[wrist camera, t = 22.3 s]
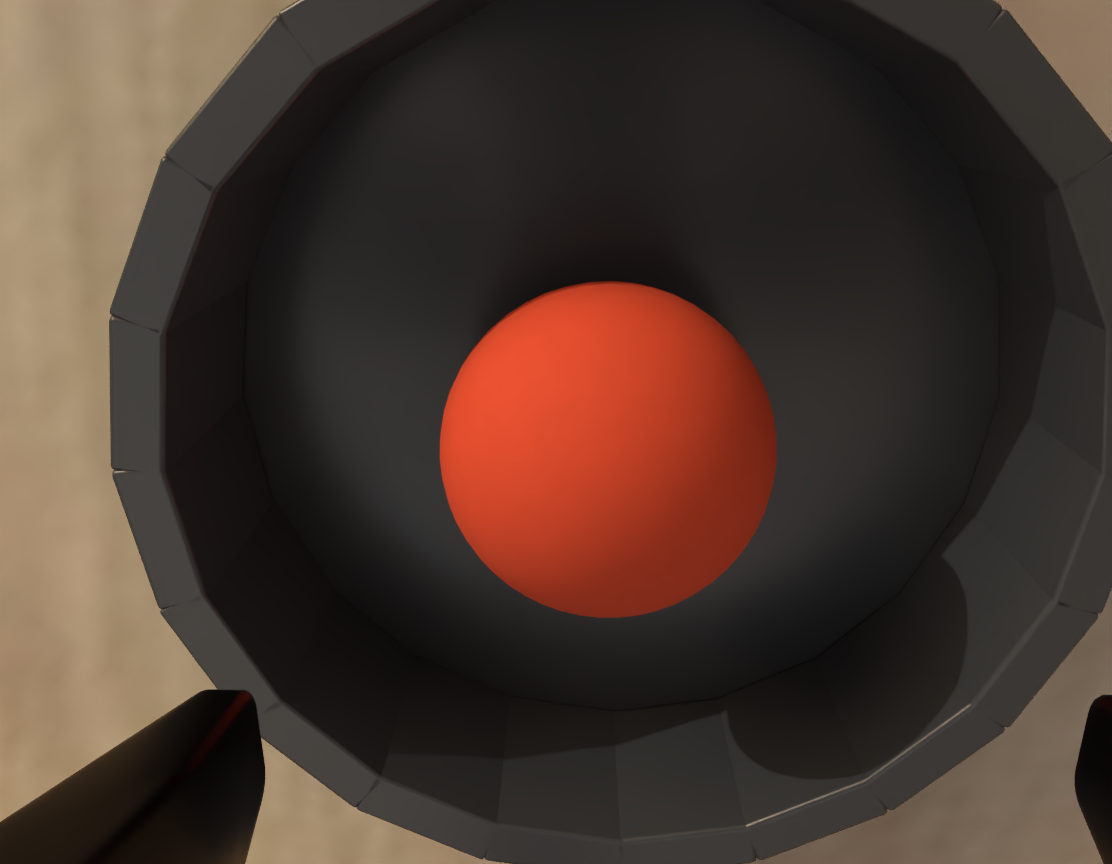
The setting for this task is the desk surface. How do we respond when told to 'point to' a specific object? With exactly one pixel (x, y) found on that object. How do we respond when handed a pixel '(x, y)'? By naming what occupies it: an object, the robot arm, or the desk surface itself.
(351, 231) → the black round open container
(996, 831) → the desk surface
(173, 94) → the desk surface
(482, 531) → the ball
